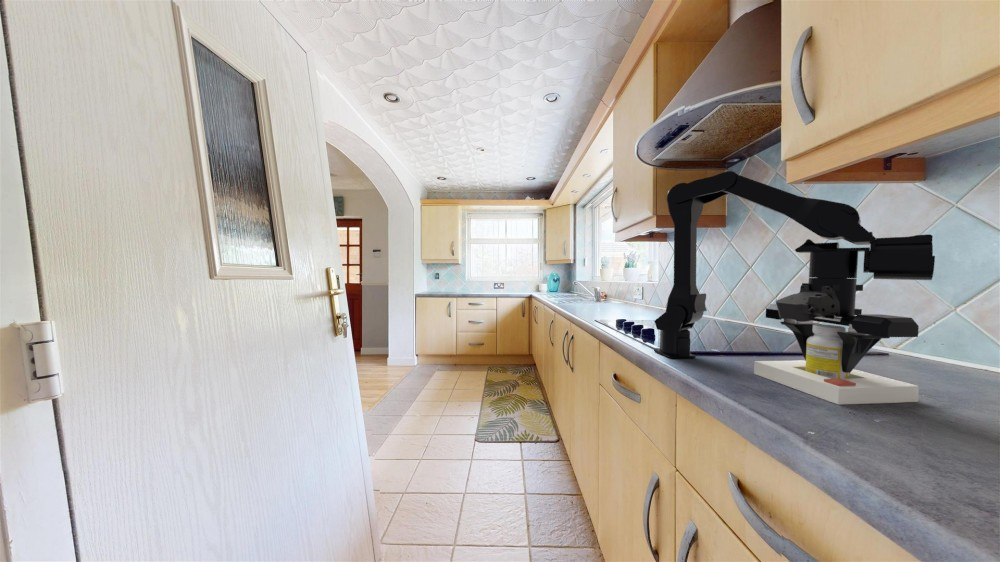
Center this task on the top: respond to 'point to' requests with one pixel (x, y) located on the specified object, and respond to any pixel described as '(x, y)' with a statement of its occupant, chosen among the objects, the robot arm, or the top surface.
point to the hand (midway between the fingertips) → (826, 366)
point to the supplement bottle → (825, 352)
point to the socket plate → (838, 384)
